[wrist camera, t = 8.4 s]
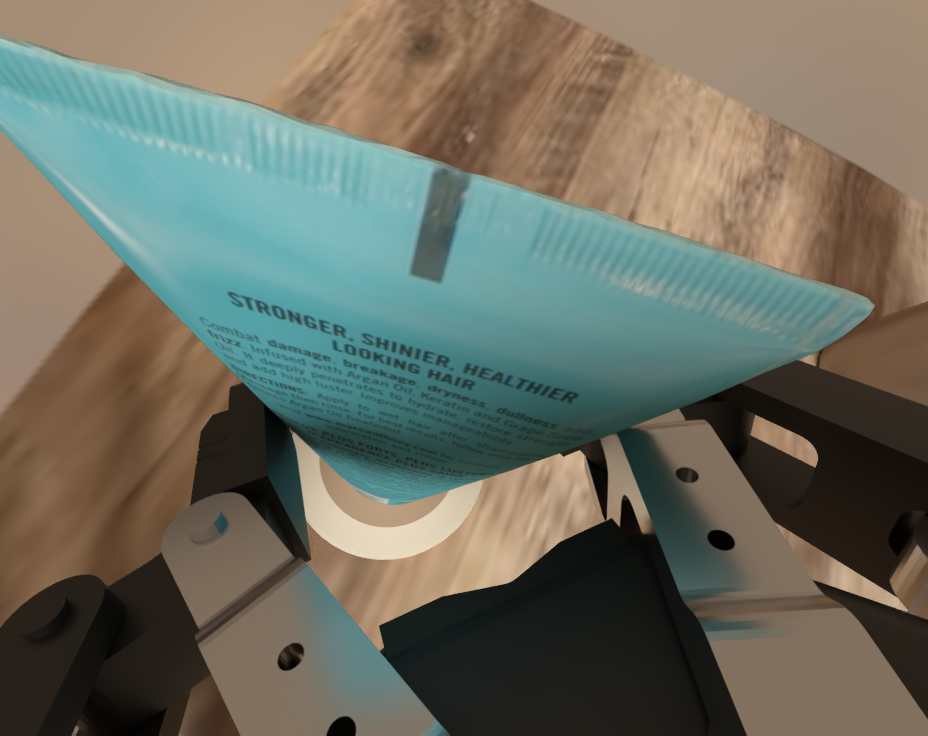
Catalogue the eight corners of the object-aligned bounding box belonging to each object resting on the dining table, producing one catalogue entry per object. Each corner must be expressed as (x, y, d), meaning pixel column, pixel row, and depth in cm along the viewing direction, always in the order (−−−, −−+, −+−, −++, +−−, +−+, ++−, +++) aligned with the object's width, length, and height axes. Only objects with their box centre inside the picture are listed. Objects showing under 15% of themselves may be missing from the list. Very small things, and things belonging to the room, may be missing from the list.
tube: (477, 411, 23) (854, 61, 4) (464, 515, 21) (927, 624, 3) (322, 385, 22) (0, -180, 4) (297, 491, 21) (-421, 449, 2)
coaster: (444, 343, 33) (446, 337, 31) (509, 511, 30) (515, 512, 29) (268, 401, 30) (262, 397, 28) (326, 590, 28) (323, 595, 26)
